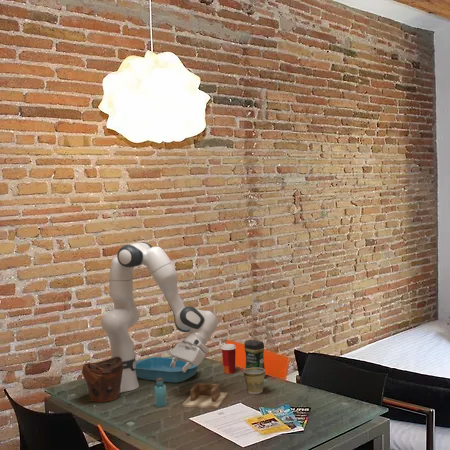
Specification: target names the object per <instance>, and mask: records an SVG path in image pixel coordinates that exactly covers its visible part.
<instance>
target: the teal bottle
mask: <svg viewBox="0 0 450 450" xmlns="http://www.w3.org/2000/svg"><path fill="white" fill-rule="evenodd" d="M155 382H156V385H154V387H153V388H154V389H153V390H154V405H155V407H156V408H163V407H166V406H167V403H168V402H167V384H164V382H163V377H157V378H156V381H155Z"/></svg>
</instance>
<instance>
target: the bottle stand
mask: <svg viewBox="0 0 450 450" xmlns="http://www.w3.org/2000/svg"><path fill="white" fill-rule="evenodd" d="M189 390H190V395H189V396H188V397H187V399H185V400H184V402H183V403H182V404H181V407H182V408H199V409H200V408H201V409H218V408H219V407H220V406H221V405H222V404H223V402H224V401H225V400H226V398H227V397H228V395H229V392H222V391H221V384H220V383H202V382H200V383H199V382H198V383H195V384H194V385H193V386H192V387H191V389H189Z"/></svg>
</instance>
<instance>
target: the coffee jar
mask: <svg viewBox="0 0 450 450" xmlns="http://www.w3.org/2000/svg"><path fill="white" fill-rule="evenodd" d="M243 348H244V352H245V353H244V354H245V369H247V368H263V369H265V370H266V368H265V360H264V351H265V343H264V342H263V341H261V340H254V339H248V340H246V341H245V342H244V347H243ZM265 377H266V375H265V376H264V378H265Z"/></svg>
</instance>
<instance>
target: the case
mask: <svg viewBox="0 0 450 450" xmlns="http://www.w3.org/2000/svg"><path fill="white" fill-rule="evenodd" d="M122 372H123V363H122V359H121V358H120V357H114V358H112V359H111V358H109V359H105V360H102V361H99V362H89V363H88V362H87V363H84V364H83V365H82V370H81V375H82V376H83V378H84V380H85V383H86V387H87V391H88V394H89V399H90V401H91V402H93V403H94V402H95V403H104V402H110V401H114V400H117V399H118V398H119V397H120V387H121V379H122Z"/></svg>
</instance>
